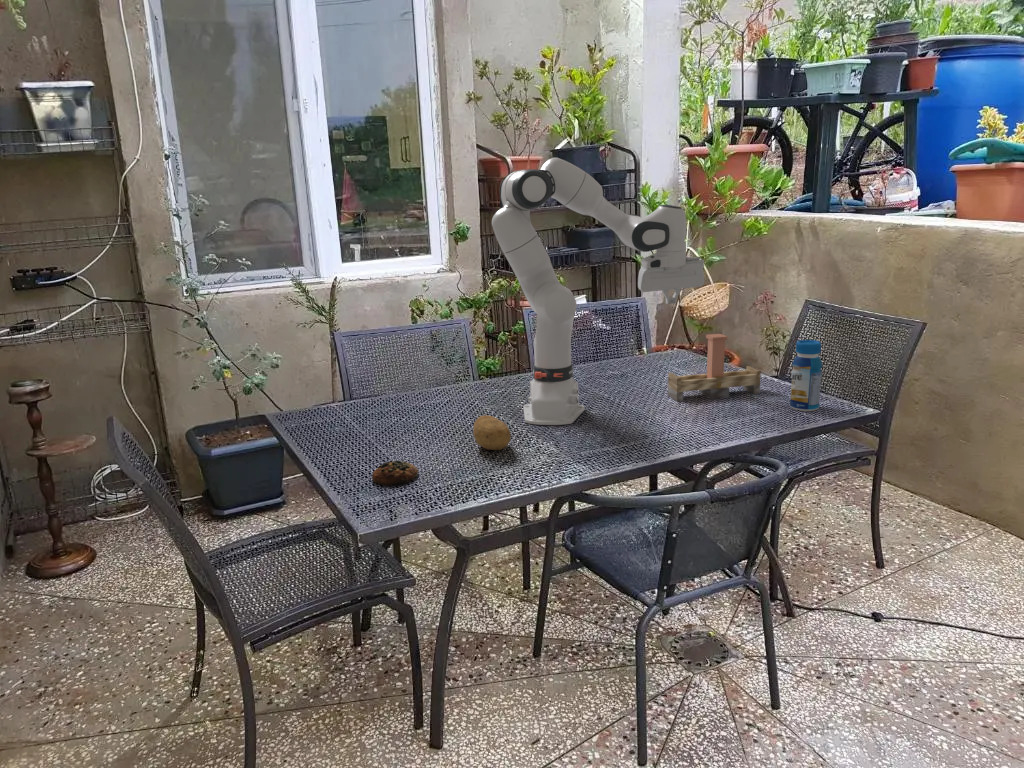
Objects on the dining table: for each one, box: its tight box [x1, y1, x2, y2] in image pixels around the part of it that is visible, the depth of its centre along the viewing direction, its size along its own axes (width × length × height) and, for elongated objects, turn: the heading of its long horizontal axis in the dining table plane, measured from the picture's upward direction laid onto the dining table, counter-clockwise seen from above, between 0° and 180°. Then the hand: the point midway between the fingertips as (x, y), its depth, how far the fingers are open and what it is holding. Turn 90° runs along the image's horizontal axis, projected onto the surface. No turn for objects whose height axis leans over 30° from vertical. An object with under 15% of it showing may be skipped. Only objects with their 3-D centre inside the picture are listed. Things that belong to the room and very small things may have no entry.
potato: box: [472, 414, 512, 451], centre depth 195 cm, size 10×14×8 cm
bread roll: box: [371, 460, 419, 487], centre depth 179 cm, size 11×11×5 cm
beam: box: [667, 365, 762, 402], centre depth 236 cm, size 28×9×7 cm, turn 101°
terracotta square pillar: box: [705, 333, 728, 378], centre depth 234 cm, size 5×5×14 cm
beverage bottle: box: [789, 339, 823, 412], centre depth 218 cm, size 8×8×20 cm
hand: (671, 303), depth 231 cm, fingers closed
